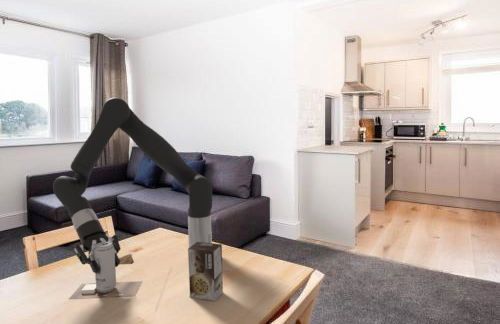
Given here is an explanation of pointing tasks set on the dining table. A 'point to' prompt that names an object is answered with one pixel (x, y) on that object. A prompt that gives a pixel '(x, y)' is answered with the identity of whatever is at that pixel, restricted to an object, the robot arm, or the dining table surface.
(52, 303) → the dining table surface
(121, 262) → the wooden fragment
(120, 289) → the walnut board
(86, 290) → the white square tile
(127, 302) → the dining table surface
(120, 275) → the dining table surface
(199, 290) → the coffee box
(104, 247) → the energy drink can
